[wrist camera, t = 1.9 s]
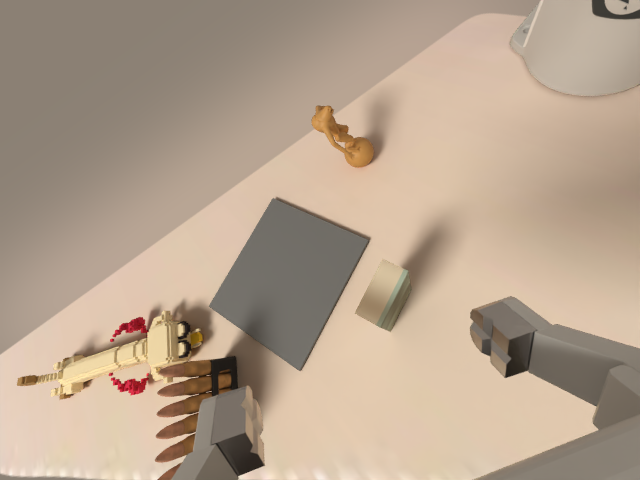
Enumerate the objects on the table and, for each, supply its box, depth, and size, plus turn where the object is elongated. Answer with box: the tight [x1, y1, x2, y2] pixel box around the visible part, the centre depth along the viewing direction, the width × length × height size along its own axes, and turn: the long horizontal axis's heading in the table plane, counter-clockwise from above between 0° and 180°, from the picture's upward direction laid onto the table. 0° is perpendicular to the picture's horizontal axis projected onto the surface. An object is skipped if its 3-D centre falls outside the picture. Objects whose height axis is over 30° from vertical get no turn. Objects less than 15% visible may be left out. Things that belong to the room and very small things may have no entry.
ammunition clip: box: [155, 356, 238, 480], centre depth 32 cm, size 11×2×12 cm, turn 10°
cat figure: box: [17, 311, 203, 399], centre depth 41 cm, size 10×9×25 cm
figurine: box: [312, 106, 374, 167], centre depth 38 cm, size 8×6×12 cm
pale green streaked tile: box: [355, 259, 411, 332], centre depth 31 cm, size 6×2×10 cm, turn 150°
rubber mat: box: [209, 198, 369, 371], centre depth 41 cm, size 18×16×1 cm
